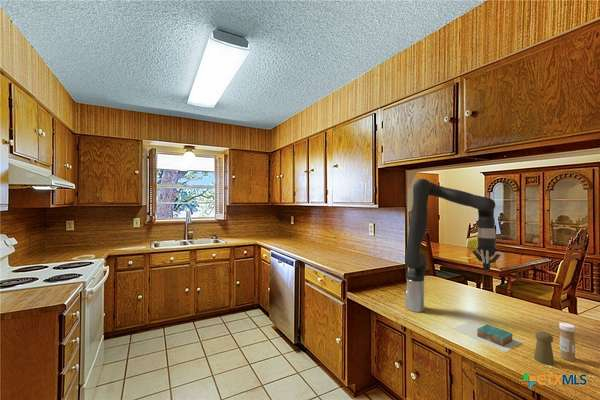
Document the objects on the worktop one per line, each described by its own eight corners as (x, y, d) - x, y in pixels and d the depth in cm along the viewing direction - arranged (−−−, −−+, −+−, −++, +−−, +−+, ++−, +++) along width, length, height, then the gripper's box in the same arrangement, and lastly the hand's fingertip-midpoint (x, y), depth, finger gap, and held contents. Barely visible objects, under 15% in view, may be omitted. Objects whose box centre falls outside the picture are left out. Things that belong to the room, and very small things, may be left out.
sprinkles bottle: (578, 362, 104) (578, 327, 104) (565, 361, 105) (565, 326, 105) (569, 355, 109) (568, 322, 109) (556, 354, 110) (556, 321, 110)
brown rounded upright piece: (533, 360, 106) (533, 332, 106) (534, 354, 110) (534, 327, 110) (554, 367, 101) (554, 338, 101) (555, 360, 105) (554, 332, 105)
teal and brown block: (477, 328, 123) (502, 338, 115) (487, 324, 128) (512, 333, 119) (477, 336, 123) (502, 346, 115) (487, 331, 128) (512, 341, 119)
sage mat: (450, 329, 131) (450, 328, 131) (469, 322, 139) (469, 321, 139) (505, 353, 111) (505, 352, 111) (523, 342, 119) (523, 341, 119)
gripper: (468, 235, 142) (469, 268, 142) (497, 238, 130) (497, 274, 130) (476, 234, 145) (476, 266, 145) (504, 237, 134) (505, 272, 134)
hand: (486, 270), depth 138 cm, fingers closed
